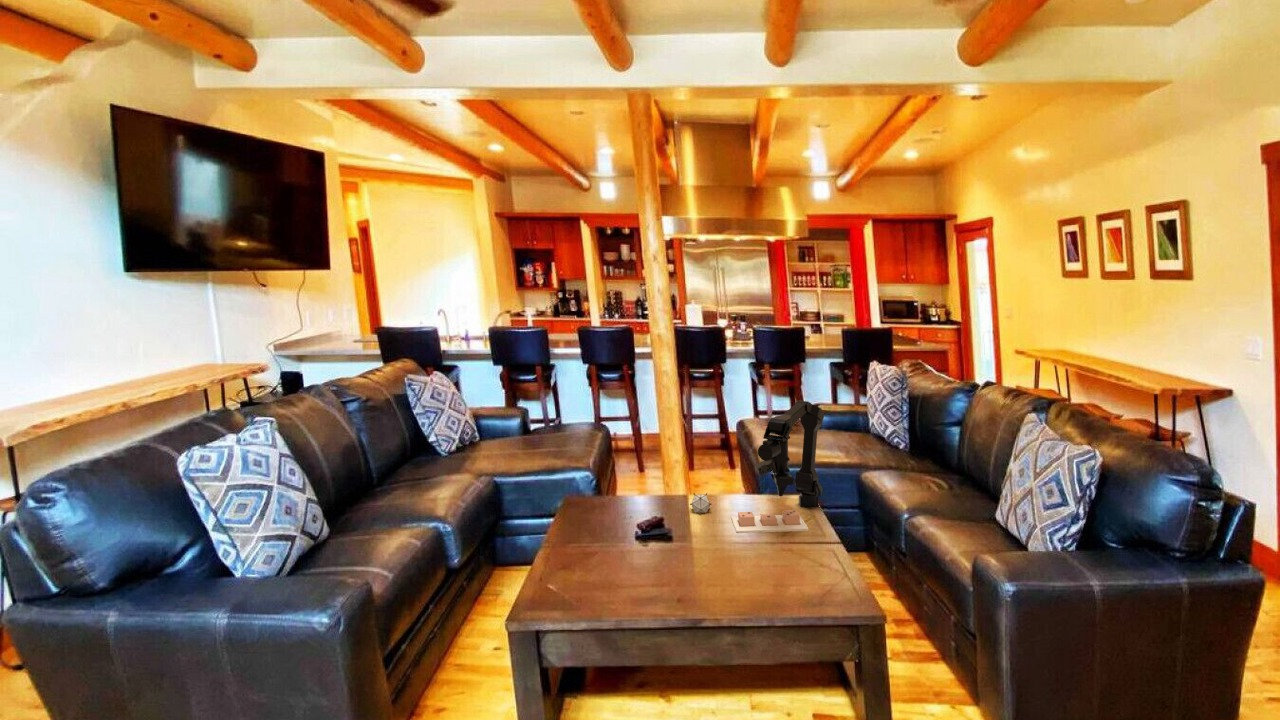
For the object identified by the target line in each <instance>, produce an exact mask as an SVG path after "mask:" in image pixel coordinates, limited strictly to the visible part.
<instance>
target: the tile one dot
mask: <svg viewBox="0 0 1280 720" xmlns="http://www.w3.org/2000/svg"><path fill="white" fill-rule="evenodd" d="M775 515H776V514H774V513H763V514H761V513H760V515H759V516H760V522H761V525H762V526H777V518H776V516H775Z"/></svg>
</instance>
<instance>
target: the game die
mask: <svg viewBox="0 0 1280 720" xmlns="http://www.w3.org/2000/svg"><path fill="white" fill-rule="evenodd" d="M693 495H694V496H693V498H692V501H691V503H689V505H690V506H691V507H692V510H693V512H694V513H696V514H704V513H705V514H707V513H708V512H709V509H710V506H711V505H713V504H712V503H710V501H709V497H708V492H706V493H705V494H696V493H695V492H694V493H693Z"/></svg>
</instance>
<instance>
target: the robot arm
mask: <svg viewBox="0 0 1280 720" xmlns="http://www.w3.org/2000/svg"><path fill="white" fill-rule="evenodd" d="M824 419H825V412H824V411H823V409H822V408H821V407H819V406H817V405H815V404H813V403H812V402H810V401H808V400H797V401H795V403H794V405H793V406H791V407H790V408H789V409H788V410H786V411H785V412H784V413H783V414H781V415H776V416H773V417H772V418H770V419H769V420H768V422H767V424H766V425H767V426H766V428H765V430H764V434H763V439H764V440H763V441H762V444H761V445H760V446H759V447H758V449H757V455H758V457H759V458H760V459H761V460H762V461H760V462H758V463H756V464H755V465H754V466H755V469H756V471H757V472H758V473H757V474H758V475H759V476H760V477H762V476H764V475H766V474H770V473H771V474H770V477H771V479H772V480H773V482H774V483H775V485H776V489H777V494H778V496H779V497H783V496H784V493H785V491H786V489H787V487H788V486H794V487H795V492H796V493H798V494H799V493H800V494H799V495H798V505H799V507H800V508H807V509H814V508H818V507H819V497H820V496H822V494H823V490H824V489H823V486H822V484H821V483H820V482H819V474H818V472H817V470H816V468H815V467H816V453H817V441H818V440H817V439H818V430H819V429H820V428H821V426H822V425H823V423H824V422H823V421H824ZM799 420H800V424H801V426H802V428H803V443H802V454H801V455H802V456H801V468H800V469H799V470H798V471H796V472H795V478H794V476H793V475H792V474H791V473H790V472H791V471H790V468H789V461H790V457H789V440H790V439H791V436H790V434H791V432H792V431H793V426H794V425H795V424H796V423H797V422H798V421H799Z"/></svg>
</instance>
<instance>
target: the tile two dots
mask: <svg viewBox="0 0 1280 720" xmlns="http://www.w3.org/2000/svg"><path fill="white" fill-rule="evenodd" d="M737 513H738V514H737V516H738V524H739V527H747V526H755V519H754V516H755V515H754V513H753V511H738V512H737Z"/></svg>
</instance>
